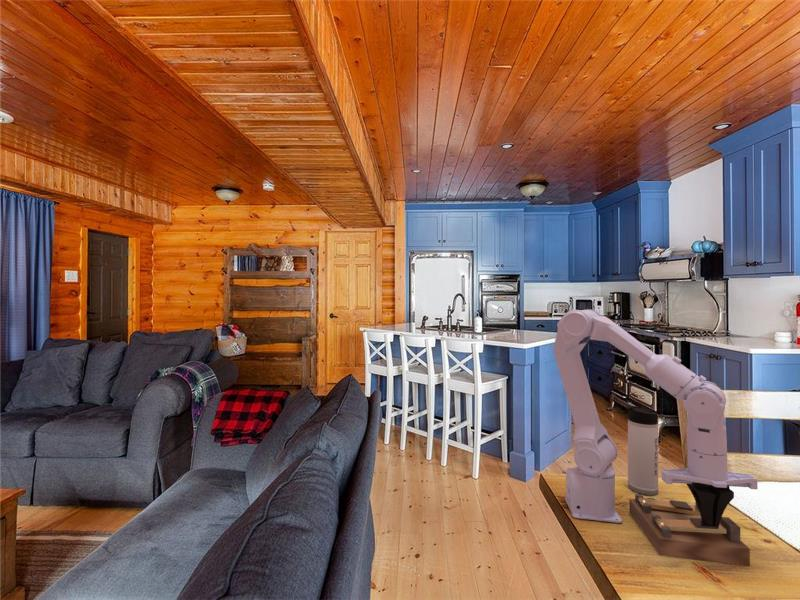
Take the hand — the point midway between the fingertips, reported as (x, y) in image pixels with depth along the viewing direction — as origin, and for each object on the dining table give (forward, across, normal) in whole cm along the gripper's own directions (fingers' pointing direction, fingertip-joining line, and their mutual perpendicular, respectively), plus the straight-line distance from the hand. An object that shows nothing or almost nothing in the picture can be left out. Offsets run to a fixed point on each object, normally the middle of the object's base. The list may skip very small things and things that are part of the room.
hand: (709, 524), depth 70 cm
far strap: (+2, -3, +8) cm, 9 cm away
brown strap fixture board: (+5, -3, +4) cm, 7 cm away
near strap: (+1, -3, 0) cm, 3 cm away
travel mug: (+5, -2, +23) cm, 24 cm away
